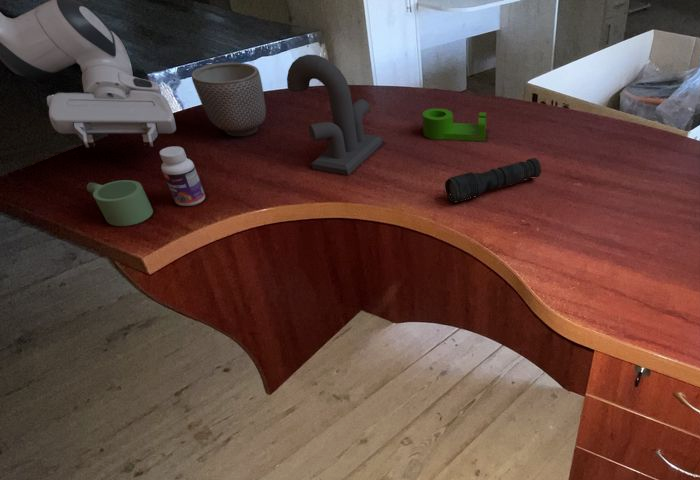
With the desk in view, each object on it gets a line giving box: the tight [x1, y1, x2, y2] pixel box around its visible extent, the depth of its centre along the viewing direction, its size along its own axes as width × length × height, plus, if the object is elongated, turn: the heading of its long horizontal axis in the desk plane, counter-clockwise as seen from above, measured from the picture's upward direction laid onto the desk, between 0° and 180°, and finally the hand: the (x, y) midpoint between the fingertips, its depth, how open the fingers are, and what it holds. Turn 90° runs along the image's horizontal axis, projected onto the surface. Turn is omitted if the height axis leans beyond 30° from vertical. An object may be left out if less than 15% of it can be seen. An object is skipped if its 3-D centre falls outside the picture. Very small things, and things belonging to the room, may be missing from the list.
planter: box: [191, 61, 267, 137], centre depth 122 cm, size 14×14×13 cm
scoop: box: [86, 179, 154, 227], centre depth 97 cm, size 12×8×5 cm, turn 65°
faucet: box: [286, 54, 384, 176], centre depth 114 cm, size 18×16×20 cm
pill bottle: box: [159, 145, 206, 207], centre depth 100 cm, size 5×5×10 cm
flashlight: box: [444, 157, 542, 204], centre depth 109 cm, size 5×21×5 cm, turn 123°
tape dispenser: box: [422, 107, 487, 142], centre depth 129 cm, size 15×7×5 cm, turn 89°
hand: (119, 144), depth 103 cm, fingers open, 8 cm apart
